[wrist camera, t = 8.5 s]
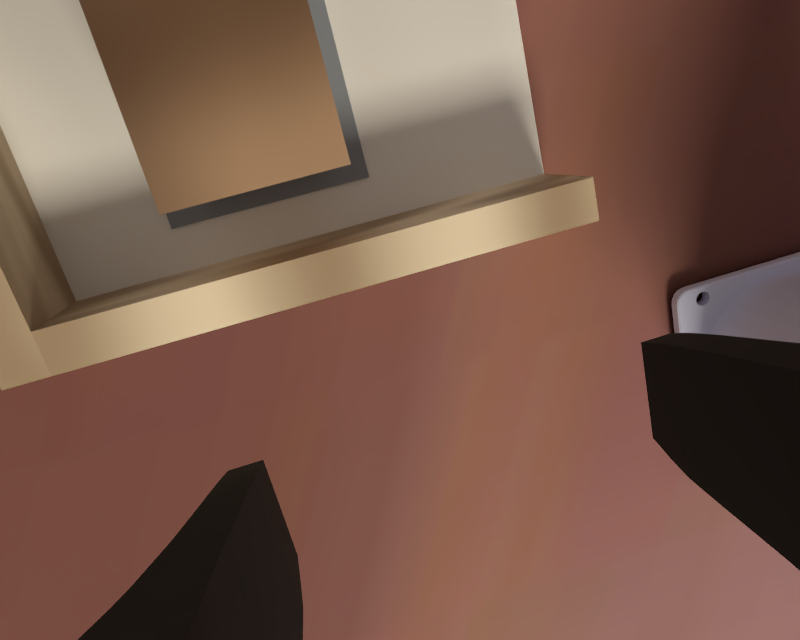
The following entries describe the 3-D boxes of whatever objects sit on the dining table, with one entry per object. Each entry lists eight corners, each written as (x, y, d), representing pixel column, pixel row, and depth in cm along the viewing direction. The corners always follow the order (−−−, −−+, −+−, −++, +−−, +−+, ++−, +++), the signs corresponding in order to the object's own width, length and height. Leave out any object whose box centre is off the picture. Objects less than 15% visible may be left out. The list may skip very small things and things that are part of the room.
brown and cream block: (332, 161, 17) (351, 163, 12) (197, 196, 17) (158, 215, 12) (269, -68, 16) (261, -180, 10) (117, -34, 15) (27, -134, 10)
